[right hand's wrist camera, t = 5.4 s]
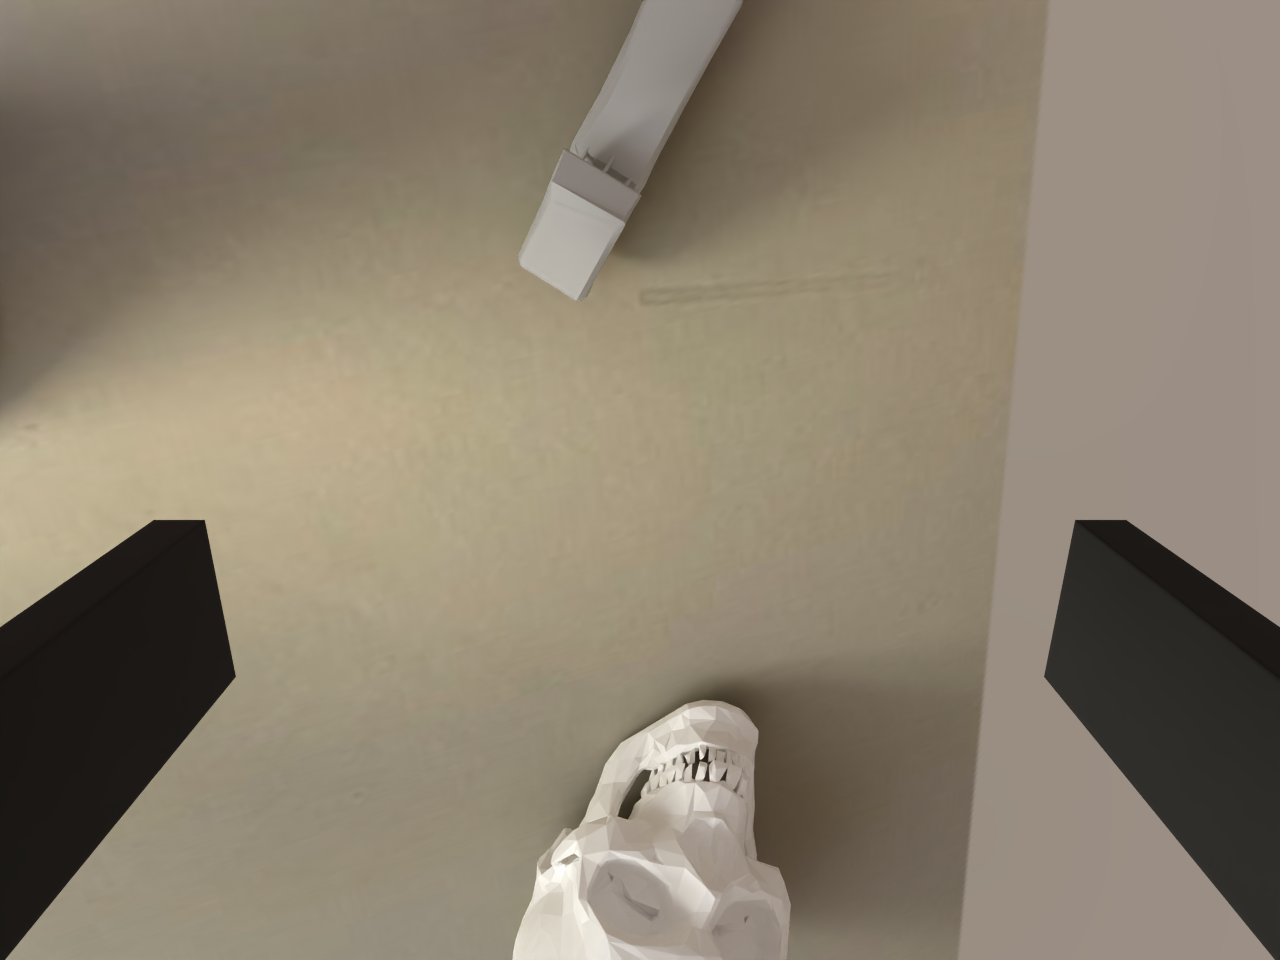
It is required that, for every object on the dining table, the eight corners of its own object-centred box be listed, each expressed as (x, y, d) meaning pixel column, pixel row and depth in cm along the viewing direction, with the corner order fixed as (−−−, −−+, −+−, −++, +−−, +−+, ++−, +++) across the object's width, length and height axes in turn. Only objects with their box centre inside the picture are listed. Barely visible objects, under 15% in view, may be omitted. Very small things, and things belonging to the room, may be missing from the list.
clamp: (584, 303, 40) (583, 312, 33) (515, 264, 39) (500, 266, 32) (803, -107, 36) (850, -189, 29) (729, -159, 35) (761, -255, 28)
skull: (823, 710, 48) (892, 943, 33) (699, 969, 55) (711, 1257, 40) (607, 646, 47) (579, 857, 32) (510, 918, 54) (451, 1194, 40)
